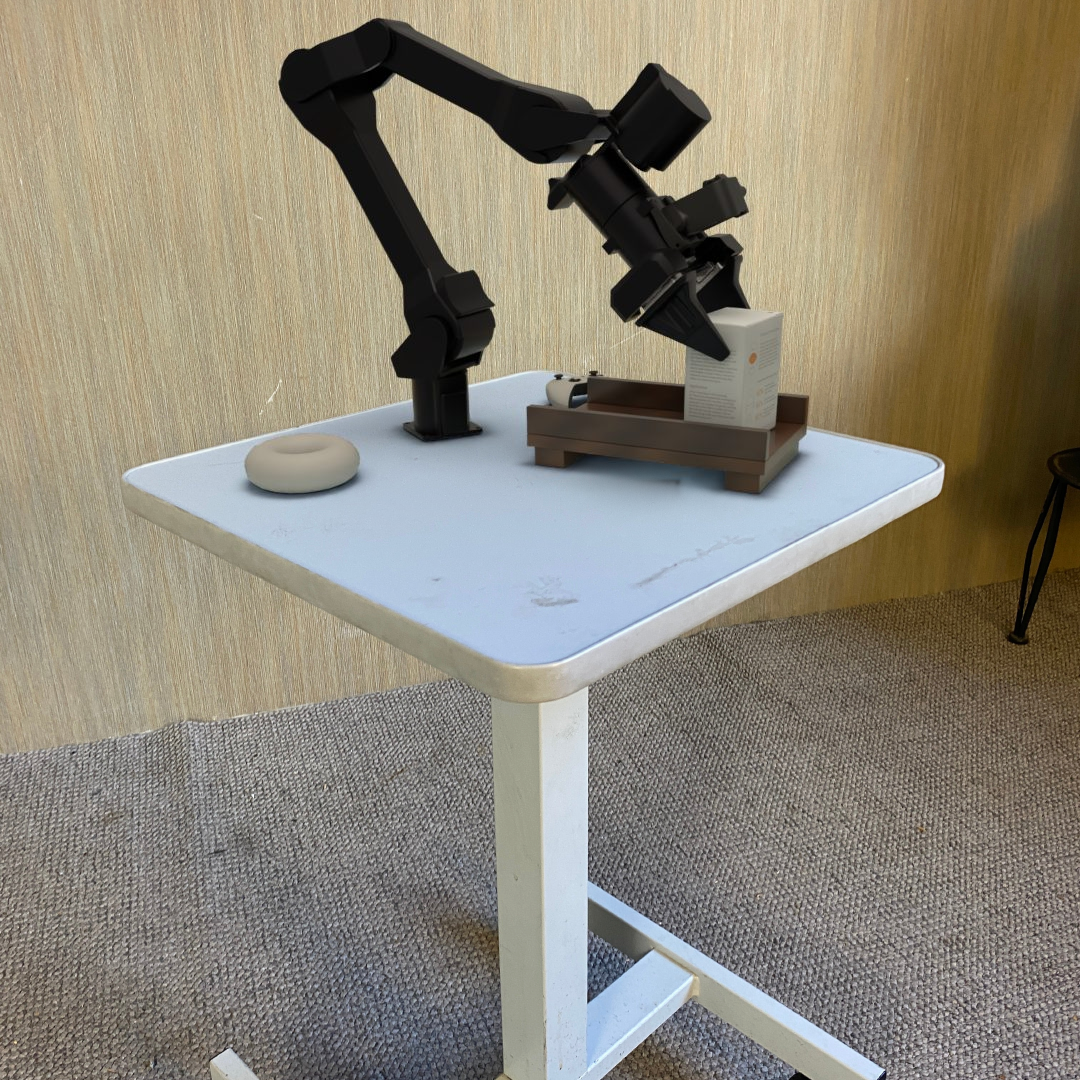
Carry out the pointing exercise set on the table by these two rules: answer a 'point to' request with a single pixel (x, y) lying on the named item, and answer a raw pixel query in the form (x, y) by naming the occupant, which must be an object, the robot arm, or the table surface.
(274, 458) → the donut
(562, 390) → the game controller
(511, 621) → the table surface
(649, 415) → the tray
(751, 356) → the small box
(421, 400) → the robot arm
